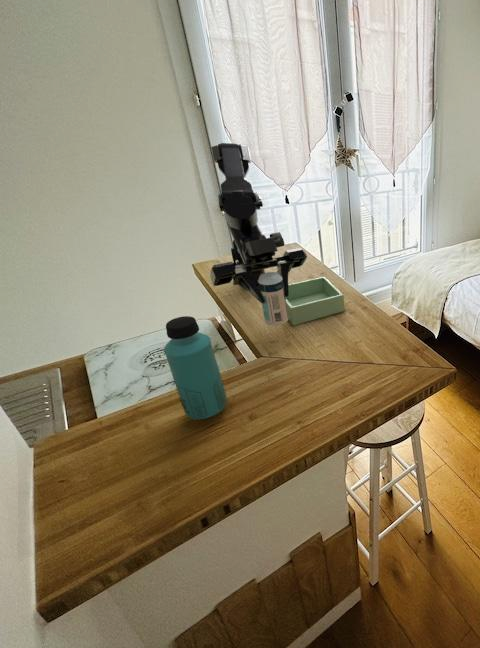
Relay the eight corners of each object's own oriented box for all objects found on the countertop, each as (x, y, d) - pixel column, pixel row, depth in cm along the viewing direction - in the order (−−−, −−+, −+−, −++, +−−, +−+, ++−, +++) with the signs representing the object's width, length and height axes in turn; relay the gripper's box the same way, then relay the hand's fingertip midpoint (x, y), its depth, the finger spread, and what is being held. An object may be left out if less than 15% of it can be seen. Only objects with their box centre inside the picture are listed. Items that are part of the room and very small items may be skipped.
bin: (276, 303, 108) (274, 287, 106) (325, 291, 116) (324, 276, 114) (293, 325, 99) (290, 308, 97) (344, 310, 108) (343, 294, 106)
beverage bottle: (238, 407, 74) (215, 316, 65) (203, 432, 68) (174, 336, 60) (212, 396, 76) (187, 306, 67) (176, 420, 70) (143, 325, 61)
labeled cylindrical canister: (293, 317, 94) (286, 272, 89) (281, 328, 90) (273, 282, 84) (273, 315, 94) (266, 269, 89) (260, 325, 90) (252, 278, 85)
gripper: (202, 229, 77) (232, 300, 76) (299, 215, 90) (326, 275, 89) (199, 252, 85) (226, 317, 84) (288, 236, 98) (313, 292, 97)
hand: (275, 299), depth 88 cm, fingers closed on labeled cylindrical canister, 5 cm apart
